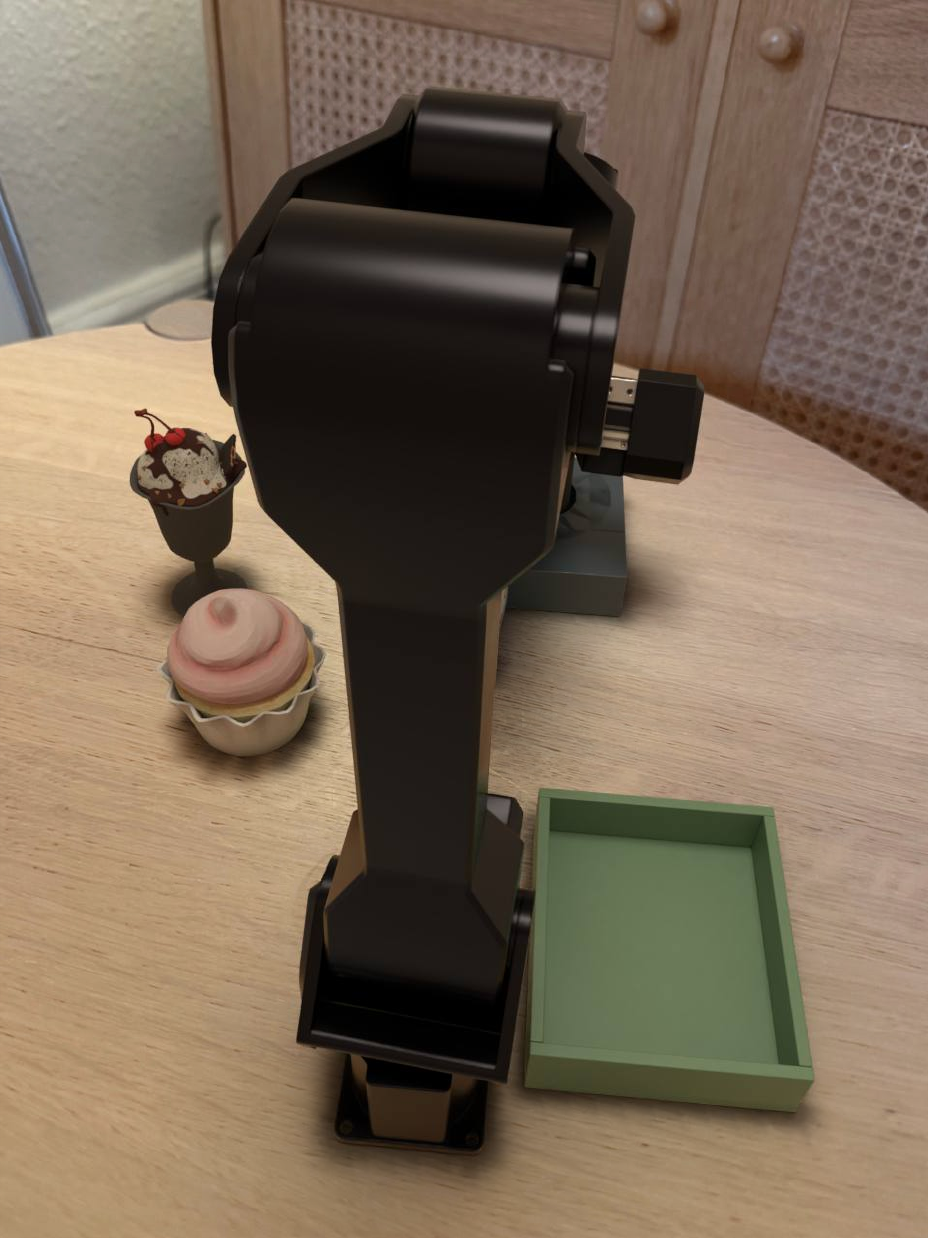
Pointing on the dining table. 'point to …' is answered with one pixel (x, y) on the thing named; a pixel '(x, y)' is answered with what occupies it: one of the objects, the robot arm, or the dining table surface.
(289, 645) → the cupcake
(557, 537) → the drain plate
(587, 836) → the green tray
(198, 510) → the sundae
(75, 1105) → the dining table surface
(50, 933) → the dining table surface
